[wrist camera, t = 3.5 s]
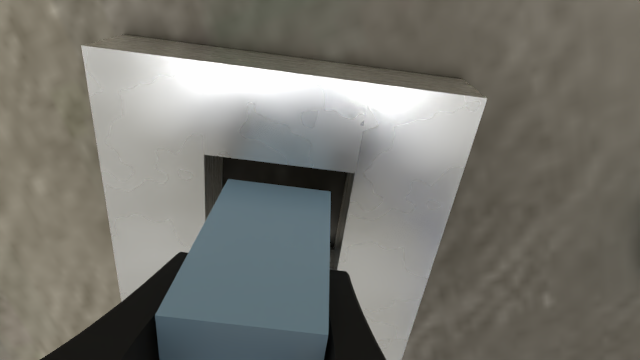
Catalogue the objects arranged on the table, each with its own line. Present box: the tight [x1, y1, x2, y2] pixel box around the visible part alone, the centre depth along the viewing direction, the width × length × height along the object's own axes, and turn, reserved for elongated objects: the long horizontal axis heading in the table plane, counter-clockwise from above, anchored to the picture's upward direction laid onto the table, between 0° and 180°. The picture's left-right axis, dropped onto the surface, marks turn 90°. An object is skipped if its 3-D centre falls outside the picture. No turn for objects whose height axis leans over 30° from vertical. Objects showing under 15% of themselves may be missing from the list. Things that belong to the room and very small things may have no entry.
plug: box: [155, 179, 331, 360], centre depth 11 cm, size 4×4×7 cm
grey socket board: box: [81, 35, 487, 360], centre depth 18 cm, size 12×22×2 cm, turn 173°
